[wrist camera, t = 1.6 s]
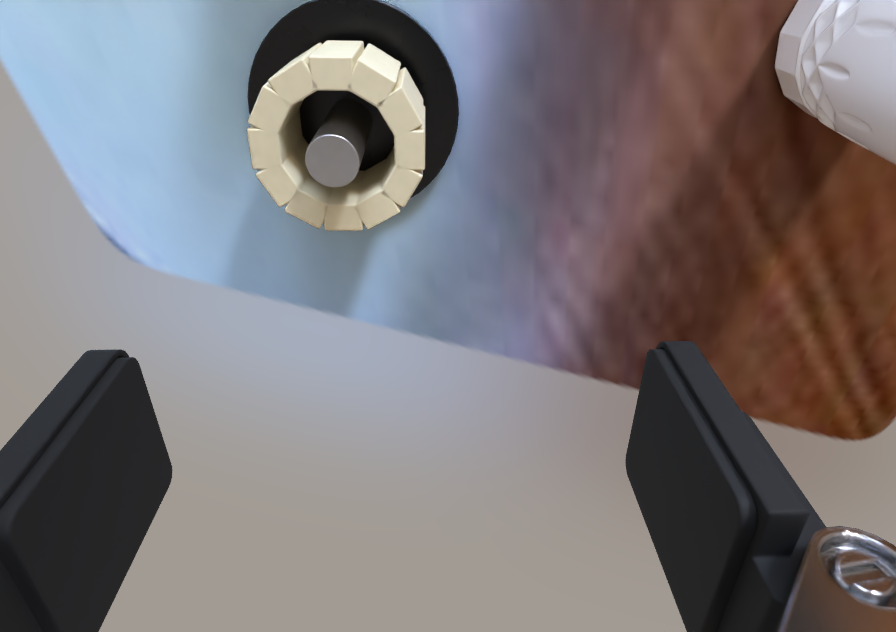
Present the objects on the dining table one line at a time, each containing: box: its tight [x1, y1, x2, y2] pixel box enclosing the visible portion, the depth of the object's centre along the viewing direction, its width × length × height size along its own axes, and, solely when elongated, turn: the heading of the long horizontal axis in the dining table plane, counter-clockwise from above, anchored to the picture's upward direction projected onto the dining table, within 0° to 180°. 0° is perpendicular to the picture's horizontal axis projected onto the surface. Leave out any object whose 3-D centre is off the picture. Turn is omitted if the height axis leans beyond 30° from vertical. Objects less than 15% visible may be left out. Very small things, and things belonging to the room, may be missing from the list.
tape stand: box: [248, 0, 459, 197], centre depth 26 cm, size 10×10×8 cm
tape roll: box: [247, 40, 425, 231], centre depth 26 cm, size 7×7×4 cm
